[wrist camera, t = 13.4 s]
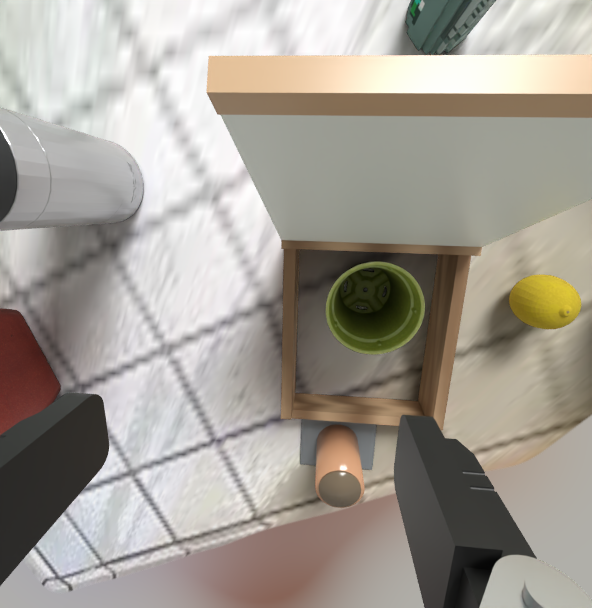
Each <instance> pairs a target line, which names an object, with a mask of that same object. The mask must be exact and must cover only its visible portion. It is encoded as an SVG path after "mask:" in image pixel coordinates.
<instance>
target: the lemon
mask: <svg viewBox="0 0 592 608" xmlns="http://www.w3.org/2000/svg"><path fill="white" fill-rule="evenodd" d="M509 303H510V307H511V309H512V311H513V313H514V314H515V315H516V316H517V317H518V318H519V319H520V320H521V321H522V322H524V323H526V324H528V325H530V326H533V327H537V328H542V329H557V328H561V327H564V326H566V325H568V324H570V323H571V322H572V321H574V319H575V318H576V317H577V316H578V314H579V312H580V308H581V299H580V296H579V294H578V292H577V291H576V290H575V289H574V287H573V286H571V285H570V284H569V283H567V282H566V281H564V280H562V279H560V278H557V277H554V276H551V275H533V276H529V277H526V278H524V279H522V280H521V281H519V282H518V283H517V284H516V285H515V286H514V287H513V289H512V290H511V293H510V296H509Z"/></svg>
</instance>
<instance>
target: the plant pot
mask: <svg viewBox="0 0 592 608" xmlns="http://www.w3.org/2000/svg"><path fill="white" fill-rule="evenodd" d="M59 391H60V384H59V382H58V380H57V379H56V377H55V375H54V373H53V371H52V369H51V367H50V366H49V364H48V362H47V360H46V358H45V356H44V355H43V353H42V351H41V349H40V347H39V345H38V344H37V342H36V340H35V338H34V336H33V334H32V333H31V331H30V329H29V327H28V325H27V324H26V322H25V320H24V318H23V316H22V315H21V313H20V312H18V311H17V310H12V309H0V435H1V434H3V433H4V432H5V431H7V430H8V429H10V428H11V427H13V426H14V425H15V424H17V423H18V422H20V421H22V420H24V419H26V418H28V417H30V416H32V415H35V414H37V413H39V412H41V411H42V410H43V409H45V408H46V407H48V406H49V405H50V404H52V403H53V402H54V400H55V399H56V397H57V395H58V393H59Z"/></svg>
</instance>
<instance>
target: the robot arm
mask: <svg viewBox="0 0 592 608" xmlns="http://www.w3.org/2000/svg"><path fill="white" fill-rule="evenodd" d="M142 196H143V179H142V174H141V172H140V169H139V167H138V165H137V163H136V162H135V160H134V158H133V157H132V156H131V155H130V154H129V153H128V152H127V151H126V150H125V149H123V148H122V147H121V146H119V145H117V144H115V143H113V142H110V141H107V140H104V139H100V138H97V137H94V136H91V135H88V134H85V133H82V132H78V131H75V130H72V129H69V128H65V127H62V126H59V125H56V124H53V123H49V122H46V121H43V120H40V119H36V118H33V117H30V116H27V115H24V114H20V113H17V112H14V111H11V110H7V109H4V108H1V107H0V231H5V230H17V229H32V228H47V227H62V226H76V225H93V224H107V223H117V222H121V221H124V220H126V219H128V218H129V217H130V216H132V215H133V214H134V213H135V211H136V210H137V209H138V207H139V205H140V203H141V201H142ZM108 451H109V439H108V432H107V425H106V417H105V410H104V403H103V400H102V398H101V397H100V396H99V395H97V394H84V393H67V394H65V395H63V396H62V397H60V398H59V399H57V400H56V401H55V402H53V403H52V404H50V405H49V406H48V407H46V408H45V409H43V410H42V411H41V412H39V413H37V414H35V415H32V416H30V417H28V418H26V419H24V420H22V421H20V422H18V423H17V424H15V425H14V426H13V427H11V428H10V429H8V430H7V431H5V432H4V433H3V434H1V435H0V585H1V584H2V583H3V582H4V581H5V579H6V578H7V577H8V576H9V575H10V574H11V573H12V571H13V570H14V569H15V568H16V567H17V566H18V564H19V563H20V562H21V561H22V560H23V559H24V558H25V556H26V555H27V554H28V553H29V552H30V551H31V549H32V548H33V547H34V546H35V545H36V544H37V542H38V541H39V540H40V539H41V538H42V537H43V536H44V534H45V533H46V532H47V531H48V530H49V529H50V527H51V526H52V525H53V524H54V523H55V522H56V520H57V519H58V518H59V517H60V516H61V515H62V513H63V512H64V511H65V510H66V509H67V508H68V506H69V505H70V504H71V503H72V502H73V501H74V499H75V498H76V497H77V496H78V495H79V494H80V492H81V491H82V490H83V489H84V488H85V487H86V485H87V484H88V483H89V482H90V481H91V480H92V478H93V477H94V476H95V475H96V474H97V473H98V472H99V470H100V469H101V468H102V466H103V465H104V463H105V461H106V458H107V455H108ZM394 483H395V490H396V495H397V499H398V502H399V507H400V511H401V514H402V519H403V523H404V526H405V531H406V535H407V539H408V543H409V547H410V551H411V554H412V558H413V563H414V567H415V571H416V574H417V579H418V583H419V587H420V591H421V595H422V599H423V603H424V607H425V608H592V599H591V598H590V597H589V595H588V594H586V592H585V591H584V590H583V589H582V588H581V587H580V586H579V585H578V584H577V583H575V582H574V581H573V580H572V579H571V578H569V577H568V576H567V575H565V574H564V573H563V572H561V571H560V570H558V569H556V568H555V567H553V566H551V565H549V564H547V563H545V562H543V561H541V560H538V559H537V558H536V556H535V555H534V553H533V551H532V550H531V548H530V546H529V545H528V543H527V542H526V540H525V538H524V537H523V535H522V533H521V531H520V530H519V528H518V527H517V525H516V523H515V522H514V520H513V518H512V517H511V515H510V513H509V512H508V510H507V508H506V507H505V505H504V503H503V502H502V500H501V498H500V497H499V495H498V494H497V492H495V491H494V487H493V485H492V484H491V482H490V480H489V479H488V477H487V476H485V472H484V470H483V469H482V467H481V465H480V464H479V462H478V460H477V459H476V457H475V455H474V454H473V453H472V452H470V451H469V450H468V449H467V448H466V447H465V446H464V445H462V444H461V443H460V442H459V441H458V440H457V439H446V438H444V436H443V434H442V432H441V430H440V428H439V426H438V424H437V422H436V420H435V419H434V418H433V417H430V416H415V415H402V416H401V418H400V423H399V431H398V439H397V447H396V455H395V463H394Z"/></svg>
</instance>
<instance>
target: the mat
mask: <svg viewBox="0 0 592 608" xmlns="http://www.w3.org/2000/svg"><path fill="white" fill-rule="evenodd" d="M330 425H344V426H347V427H348V428H350V429H351V430H353V431H354V433H355V434H356V436H357V439H358V445H359V452H360V459H361V466H362V469H368V470H372V465H373V456H374V446H375V436H376V427H377V424H365V423H351V422H337V421H323V420H309V419H302V430H301V458H300V464H306V465H316V451H317V437H318V435H319V433H320V432H321V431H322V430H323V429H324V428H325V427H327V426H330Z"/></svg>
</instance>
